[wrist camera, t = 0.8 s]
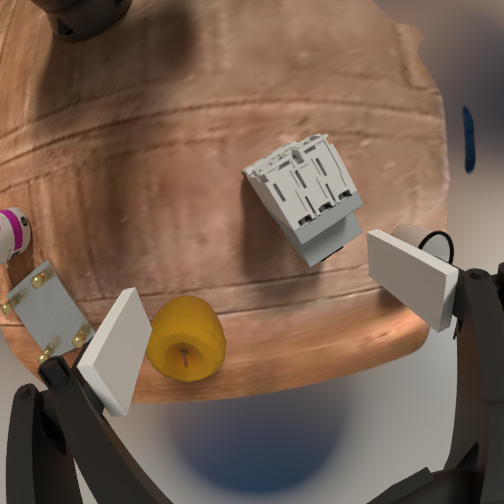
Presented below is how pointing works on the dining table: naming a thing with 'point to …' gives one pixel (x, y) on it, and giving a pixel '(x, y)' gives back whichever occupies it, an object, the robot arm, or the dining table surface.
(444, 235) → the mug
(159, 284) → the dining table surface
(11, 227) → the supplement can
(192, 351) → the apple
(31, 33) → the dining table surface
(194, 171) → the dining table surface
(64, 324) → the plate
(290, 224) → the circuit breaker
